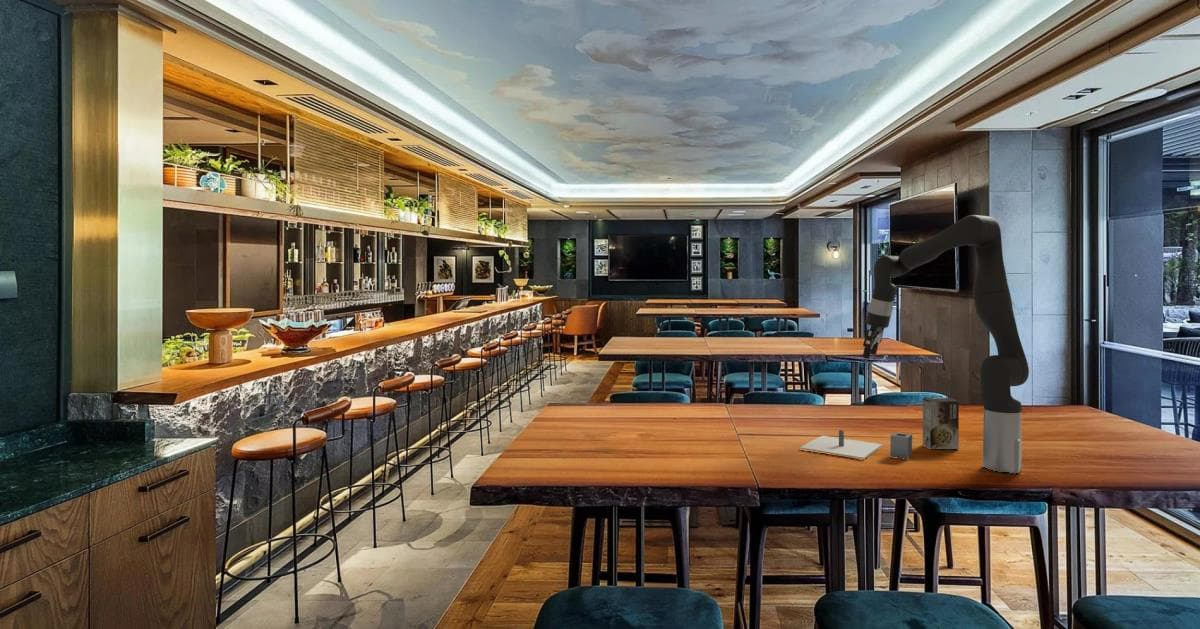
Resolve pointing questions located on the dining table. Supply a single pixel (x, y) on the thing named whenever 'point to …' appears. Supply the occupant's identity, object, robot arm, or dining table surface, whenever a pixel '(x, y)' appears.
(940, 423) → the coffee box
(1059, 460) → the dining table surface
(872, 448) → the pin plate
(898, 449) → the block
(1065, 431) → the dining table surface
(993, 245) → the robot arm
